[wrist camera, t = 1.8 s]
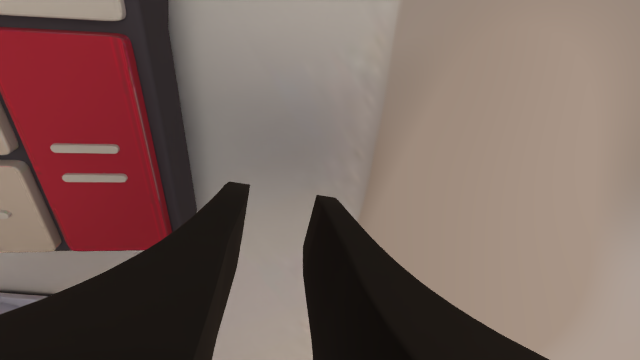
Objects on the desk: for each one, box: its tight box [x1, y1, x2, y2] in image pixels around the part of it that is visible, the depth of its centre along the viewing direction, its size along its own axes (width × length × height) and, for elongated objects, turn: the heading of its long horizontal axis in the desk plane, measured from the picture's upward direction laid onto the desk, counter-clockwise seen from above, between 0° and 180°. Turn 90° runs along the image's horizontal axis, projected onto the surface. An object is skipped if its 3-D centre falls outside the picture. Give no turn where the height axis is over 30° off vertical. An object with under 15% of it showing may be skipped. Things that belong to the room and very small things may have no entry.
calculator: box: [0, 0, 197, 253], centre depth 14 cm, size 11×4×15 cm
